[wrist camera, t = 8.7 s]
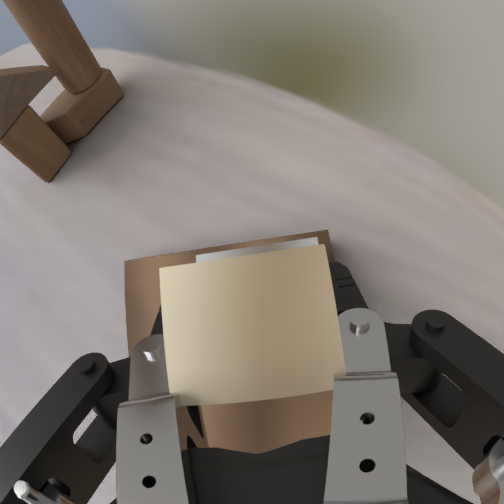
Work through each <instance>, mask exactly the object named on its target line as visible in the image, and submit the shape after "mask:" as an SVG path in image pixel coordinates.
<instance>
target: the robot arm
mask: <svg viewBox="0 0 504 504" xmlns="http://www.w3.org/2000/svg"><path fill="white" fill-rule="evenodd" d="M328 264H329V269H330V274H331V280H332V285H333V291H334V297H335V303H336V309H337V315H338V321H339V327H340V334H341V340H342V347H343V354H344V362H345V369H346V374H344V375H334V382H333V402H332V419H331V433H330V435H326V436H321V437H315V438H308V439H302V440H299V441H297V442H294V443H291V444H288V445H285V446H282V447H280V448H277V449H274V450H271V451H267V452H264V453H260V454H255V453H247V452H241V451H235V450H229V449H223V448H218V447H210V448H209V445H208V440H207V435H206V430H205V425H204V420H203V414H202V409H201V405H192V406H182V403H181V400H180V397H179V393H177V392H174V393H170V392H169V384H168V375H167V366H166V357H165V346H164V335H163V323H162V309H161V305H160V308H159V312H158V314H157V316H156V319H155V322H154V325H153V328H152V331H151V334H150V336H148V337H146V338H144V339H142V340H141V341H139V342H138V343H137V344H136V345H135V346H134V348H133V350H132V352H131V357H129V358H126V359H122V360H119V361H116V362H112V363H109V362H108V360H107V358H106V357H105V356H104V355H103V354H101V353H89V354H86V355H84V356H82V357H80V358H79V359H77V360H76V361H75V362H74V363H73V364H72V365H71V366H70V367H69V369H68V370H67V371H66V372H65V373H64V374H63V375H62V376H61V377H60V379H59V380H58V381H57V382H56V383H55V384H54V385H53V386H52V387H51V389H50V390H49V391H48V392H47V393H46V394H45V395H44V397H43V398H42V399H41V400H40V401H39V402H38V403H37V405H36V406H35V407H34V408H33V409H32V410H31V412H30V413H29V414H28V415H27V416H26V417H25V419H24V420H23V421H22V422H21V423H20V424H19V426H18V427H17V428H16V429H15V430H14V432H13V433H12V434H11V435H10V436H9V438H8V439H7V440H6V441H5V443H4V444H3V445H2V446H1V447H0V504H87V503H88V501H89V500H90V498H91V497H92V495H93V494H94V492H95V491H96V489H97V488H98V487H99V485H100V484H101V482H102V481H103V479H104V478H105V476H106V475H107V473H108V472H109V470H110V469H111V468H112V466H113V465H114V463H115V462H116V491H117V498H116V499H114V500H113V501H112V502H111V503H110V504H473V503H471V502H469V501H467V500H466V499H464V498H462V497H460V496H458V495H457V494H455V493H453V492H451V491H450V490H448V489H446V488H444V487H443V486H441V485H439V484H438V483H436V482H434V481H433V480H431V479H429V478H428V477H426V476H424V475H423V474H421V473H420V472H418V471H416V470H415V469H413V468H411V467H410V466H408V465H407V464H406V455H405V440H404V428H403V417H402V407H401V398H400V395H401V396H402V398H403V399H404V400H405V401H406V402H407V403H408V404H409V405H410V406H411V407H412V408H413V409H414V410H415V411H416V412H417V413H418V414H419V415H420V416H421V417H422V418H423V419H424V420H425V421H426V422H427V423H428V424H429V425H430V426H431V427H432V428H433V429H434V430H435V431H436V432H437V433H438V434H439V435H440V436H441V437H442V438H443V439H444V440H445V441H446V442H447V443H448V444H449V445H450V446H451V447H452V448H453V449H454V450H455V451H456V452H457V453H458V454H459V455H460V456H461V457H462V458H463V459H464V460H465V461H466V462H467V463H468V464H469V465H470V466H471V467H472V468H473V469H474V473H473V486H474V491H475V493H476V494H477V495H479V497H480V499H481V504H504V354H503V353H502V352H500V351H499V350H497V349H496V348H495V347H493V346H492V345H491V344H489V343H488V342H487V341H485V340H484V339H483V338H481V337H480V336H478V335H477V334H476V333H474V332H473V331H472V330H470V329H469V328H467V327H466V326H465V325H463V324H462V323H460V322H459V321H457V320H456V319H455V318H453V317H452V316H450V315H449V314H447V313H445V312H442V311H439V310H426V311H422V312H420V313H418V314H417V315H416V316H415V317H414V319H413V321H412V324H391V323H386V322H384V321H383V319H382V317H381V316H380V315H379V314H378V313H377V312H375V311H373V310H370V309H368V307H367V305H366V303H365V301H364V299H363V297H362V295H361V293H360V291H359V289H358V287H357V285H356V283H355V281H354V279H353V278H352V275H351V273H350V272H349V270H348V268H347V267H345V266H344V265H342V264H341V263H339V262H334V263H328ZM443 374H444V375H445V376H444V375H443ZM446 376H447V377H448V378H449V379H450V380H451V381H452V382H454V383H455V384H456V385H457V386H458V387H459V388H460V389H459V388H458V387H457V386H456V385H455V384H454V383H452V382H451V381H450V380H449V379H448V378H447V377H446ZM91 409H93V410H94V412H95V413H96V414H97V416H96V418H95V419H94V420H93V422H92V423H91V424H90V426H89V427H88V428H87V429H86V431H85V432H84V433H83V435H82V436H81V437H80V439H79V440H78V441H77V443H76V444H74V443H73V434H74V431H75V430H76V429H77V427H78V426H79V425H80V423H81V422H82V421H83V420H84V418H85V417H86V416H87V415H88V413H89V412H90V411H91Z"/></svg>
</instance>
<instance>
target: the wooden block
mask: <svg viewBox="0 0 504 504" xmlns="http://www.w3.org/2000/svg"><path fill="white" fill-rule="evenodd" d="M3 1H4V3H5V4H6V6H7V7H8V9H9V10H10V12H11V13H12V14H13V16H14V18H15V19H16V21H17V22H18V24H19V25H20V26H21V28H22V29H23V31H24V32H25V34H26V35H27V37H28V38H29V40H30V41H31V42H32V44H33V45H34V47H35V48H36V49H37V51H38V52H39V54H40V55H41V56H42V58H43V59H44V61H45V62H46V63H47V65H48V66H49V67H47V66H43V65H39V66H27V67H17V68H8V69H1V70H0V144H1V145H2V146H4V147H5V148H6V149H7V150H8V151H9V152H10V153H12V154H13V155H14V156H15V157H16V158H17V159H19V160H20V161H21V162H22V163H23V164H24V165H26V166H27V167H28V168H29V169H30V170H32V171H33V172H34V173H35V174H36V175H38V176H39V177H40V178H41V179H42V180H44V181H45V182H50V181H51V180H52V178H53V177H54V176H55V174H56V173H57V172H58V170H59V169H60V168H61V166H62V165H63V164H64V162H65V161H66V160H67V159H68V157H69V156H70V155H71V151H70V149H69V148H68V147H67V146H66V145H65V144H67V143H70V142H72V141H74V140H77V139H79V138H82V137H84V136H86V135H87V134H88V133H89V132H90V130H91V129H92V128H93V127H94V126H95V125H96V124H97V123H98V121H99V120H100V119H101V118H102V117H103V116H104V115H105V114H106V113H107V112H108V111H109V110H110V109H111V107H112V106H113V105H114V104H115V103H116V102H117V101H118V100H119V99H120V98H121V97H122V96H123V91H122V90H121V88H120V86H119V85H118V83H117V81H116V79H115V78H114V76H113V74H112V73H111V71H110V70H109V69H105V68H101V67H100V65H99V64H98V62H97V60H96V59H95V57H94V55H93V54H92V52H91V50H90V48H89V47H88V45H87V43H86V42H85V40H84V38H83V36H82V35H81V33H80V31H79V30H78V28H77V26H76V24H75V23H74V21H73V19H72V17H71V16H70V14H69V12H68V10H67V8H66V7H65V5H64V3H63V2H62V0H3ZM54 76H56V77H57V78H58V80H59V81H60V83H61V84H62V85H63V87H64V88H65V90H64V91H63V92H62V93H61V94H60V95H59V96H58V97H57V98H56V99H55V100H54V101H53V103H52V104H51V105H50V106H49V107H48V108H47V109H46V110H45V111H44V113H43V114H42V115H41V116H40V117H39V115H38V114H37V113H36V112H35V111H34V110H33V109H32V108H31V107H30V106H29V105H28V104H29V103H30V102H31V101H32V100H33V99H34V97H35V96H36V95H37V94H38V93H39V92H40V91H41V90H42V89H43V88H44V87H45V86H46V84H47V83H48V82H49V81H50V80H51V79H52V78H53V77H54Z"/></svg>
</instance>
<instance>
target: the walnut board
mask: <svg viewBox="0 0 504 504" xmlns="http://www.w3.org/2000/svg"><path fill="white" fill-rule="evenodd" d="M320 244H325V248H326V253H327V258H328V263H334V257H333V252H332V247H331V242H330V238H329V233H328V230H323V231H317V232H310V233H303V234H296V235H289V236H283V237H276V238H269V239H263V240H256V241H249V242H243V243H236V244H230V245H223V246H216V247H210V248H203V249H197V250H191V251H184V252H178V253H171V254H165V255H159V256H153V257H146V258H140V259H134V260H128V261H125V303H126V323H127V338H128V350H129V357H131V352H132V350H133V348H134V346H135V345H136V344H137V343H138V342H139V341H141V340H142V339H144V338H146V337H148V336H150V334H151V331H152V328H153V325H154V322H155V319H156V316H157V314H158V312H159V308H160V305H161V294H160V274H159V268H163V267H170V266H177V265H184V264H190V263H197V262H204V261H211V260H218V259H225V258H232V257H239V256H245V255H252V254H259V253H266V252H273V251H280V250H286V249H293V248H300V247H307V246H314V245H320ZM332 402H333V390H329V391H323V392H317V393H311V394H305V395H298V396H291V397H284V398H277V399H268V400H260V401H250V402H239V403H227V404H212V405H201V409H202V414H203V420H204V425H205V430H206V435H207V440H208V445H209V448H210V447H218V448H223V449H229V450H235V451H241V452H247V453H255V454H260V453H264V452H267V451H271V450H274V449H277V448H280V447H282V446H285V445H288V444H291V443H294V442H297V441H299V440H302V439H308V438H315V437H321V436H326V435H330V433H331V419H332Z"/></svg>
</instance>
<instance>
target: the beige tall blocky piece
mask: <svg viewBox="0 0 504 504" xmlns="http://www.w3.org/2000/svg"><path fill="white" fill-rule="evenodd" d="M159 274H160V294H161V309H162V323H163V335H164V346H165V357H166V366H167V375H168V384H169V392H170V393H174V392H177V393H179V397H180V400H181V403H182V406H192V405H212V404H227V403H239V402H250V401H260V400H268V399H277V398H284V397H291V396H298V395H305V394H311V393H317V392H323V391H329V390H333V382H334V375H344V374H346V369H345V362H344V354H343V347H342V340H341V334H340V327H339V321H338V315H337V309H336V303H335V297H334V291H333V285H332V280H331V274H330V269H329V264H328V258H327V253H326V248H325V244H320V245H314V246H307V247H300V248H293V249H286V250H280V251H273V252H266V253H259V254H252V255H245V256H239V257H232V258H225V259H218V260H211V261H204V262H197V263H190V264H184V265H177V266H170V267H163V268H159Z"/></svg>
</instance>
